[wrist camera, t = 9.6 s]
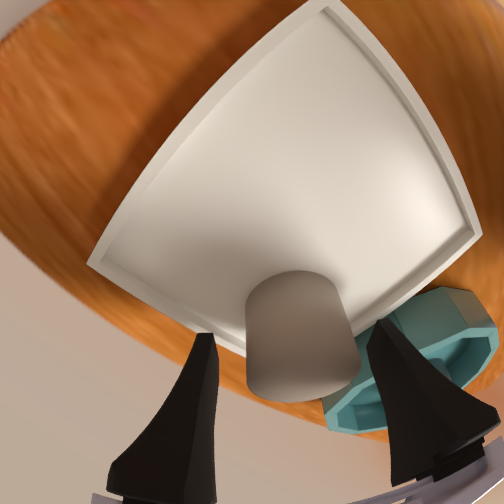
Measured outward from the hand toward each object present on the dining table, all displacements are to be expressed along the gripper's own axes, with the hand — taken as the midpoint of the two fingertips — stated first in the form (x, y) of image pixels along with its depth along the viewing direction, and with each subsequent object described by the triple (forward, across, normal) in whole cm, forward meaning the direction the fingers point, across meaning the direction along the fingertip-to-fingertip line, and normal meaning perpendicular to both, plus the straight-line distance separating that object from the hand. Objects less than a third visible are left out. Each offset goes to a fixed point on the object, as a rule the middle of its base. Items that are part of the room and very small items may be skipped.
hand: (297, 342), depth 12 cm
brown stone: (+2, 0, 0) cm, 2 cm away
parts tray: (+3, 0, -4) cm, 5 cm away
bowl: (+3, -10, +7) cm, 12 cm away
